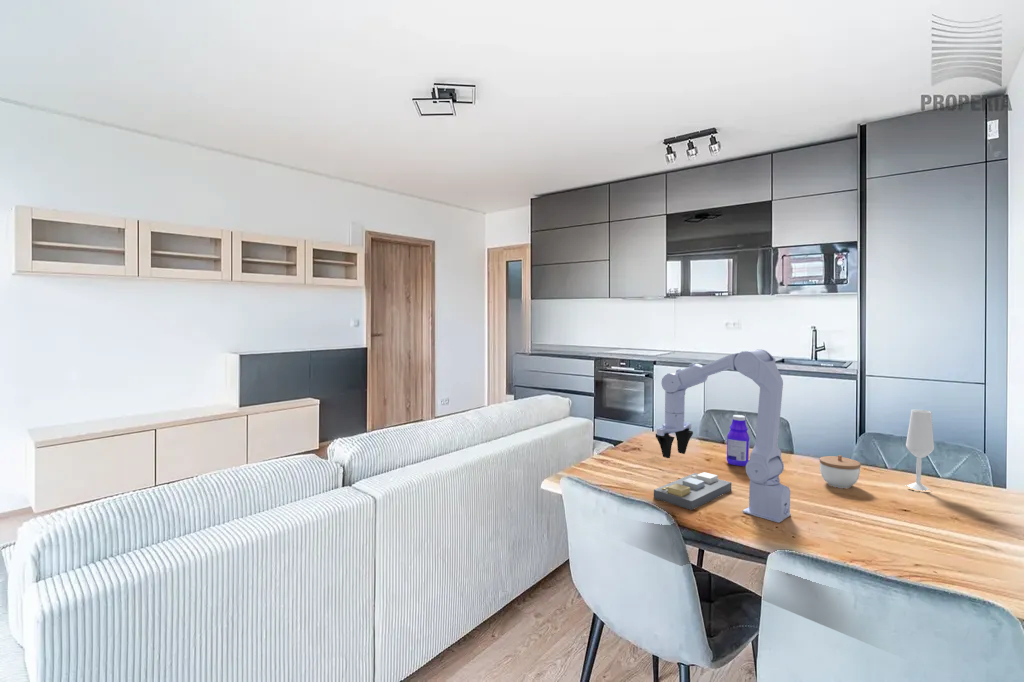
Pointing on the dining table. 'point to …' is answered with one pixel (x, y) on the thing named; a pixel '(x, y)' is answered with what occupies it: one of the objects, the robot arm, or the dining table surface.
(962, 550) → the dining table surface
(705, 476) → the key cream
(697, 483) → the key grey
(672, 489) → the key ochre
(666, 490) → the grey flat block
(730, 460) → the bottle
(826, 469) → the lidded jar
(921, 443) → the champagne flute
